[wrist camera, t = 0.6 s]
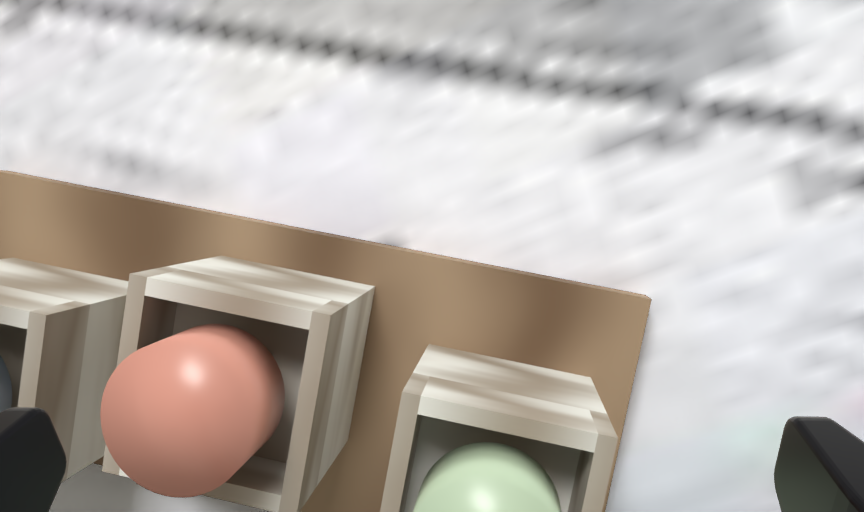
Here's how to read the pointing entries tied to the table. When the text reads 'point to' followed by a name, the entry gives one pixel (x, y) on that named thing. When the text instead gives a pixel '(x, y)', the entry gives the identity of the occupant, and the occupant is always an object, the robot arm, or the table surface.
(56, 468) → the robot arm
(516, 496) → the green button
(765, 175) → the table surface
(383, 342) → the button console
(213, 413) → the red button
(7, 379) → the blue button
